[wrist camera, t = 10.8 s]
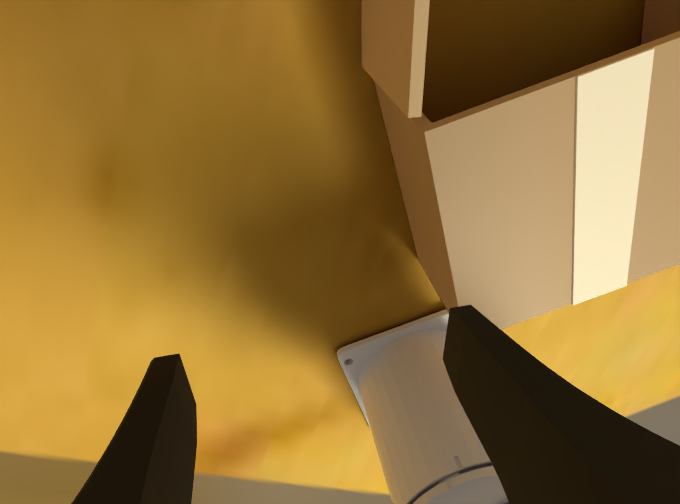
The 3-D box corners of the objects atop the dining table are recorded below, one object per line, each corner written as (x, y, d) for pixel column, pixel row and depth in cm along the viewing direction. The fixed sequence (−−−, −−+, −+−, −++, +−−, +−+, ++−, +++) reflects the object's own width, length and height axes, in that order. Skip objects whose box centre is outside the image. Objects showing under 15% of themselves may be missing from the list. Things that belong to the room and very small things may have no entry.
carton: (634, 180, 25) (734, 246, 20) (418, 260, 25) (466, 344, 20) (657, -30, 19) (808, -9, 14) (372, 76, 19) (425, 133, 14)
